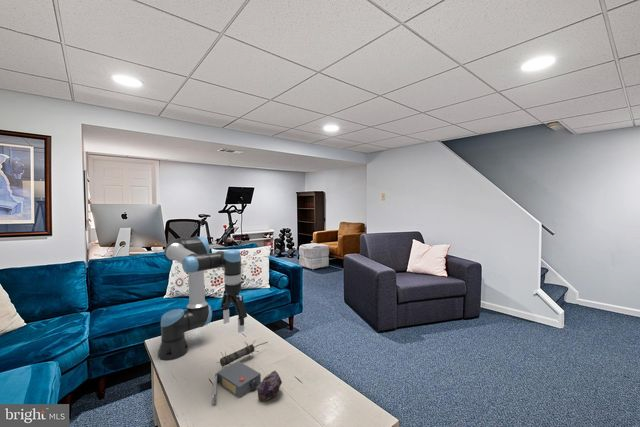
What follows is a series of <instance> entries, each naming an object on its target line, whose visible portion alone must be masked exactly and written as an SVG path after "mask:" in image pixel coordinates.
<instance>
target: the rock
mask: <svg viewBox="0 0 640 427" xmlns="http://www.w3.org/2000/svg"><path fill="white" fill-rule="evenodd" d="M282 384H283V382H282V379H281V376H280V375H279V373H278V372H277V370H271V372H270V373H269V374H268V375H266V376H265V377H264V378H263V379H262V380H261V384H260V385H258V386H257V388H256V389H257V397H258V399H259V400H260V401H261V402H265V401H268V400H270V399H273V398H274V399H275V397H276V396H277V394H278V393H279V391H280V387H281V385H282Z"/></svg>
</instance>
